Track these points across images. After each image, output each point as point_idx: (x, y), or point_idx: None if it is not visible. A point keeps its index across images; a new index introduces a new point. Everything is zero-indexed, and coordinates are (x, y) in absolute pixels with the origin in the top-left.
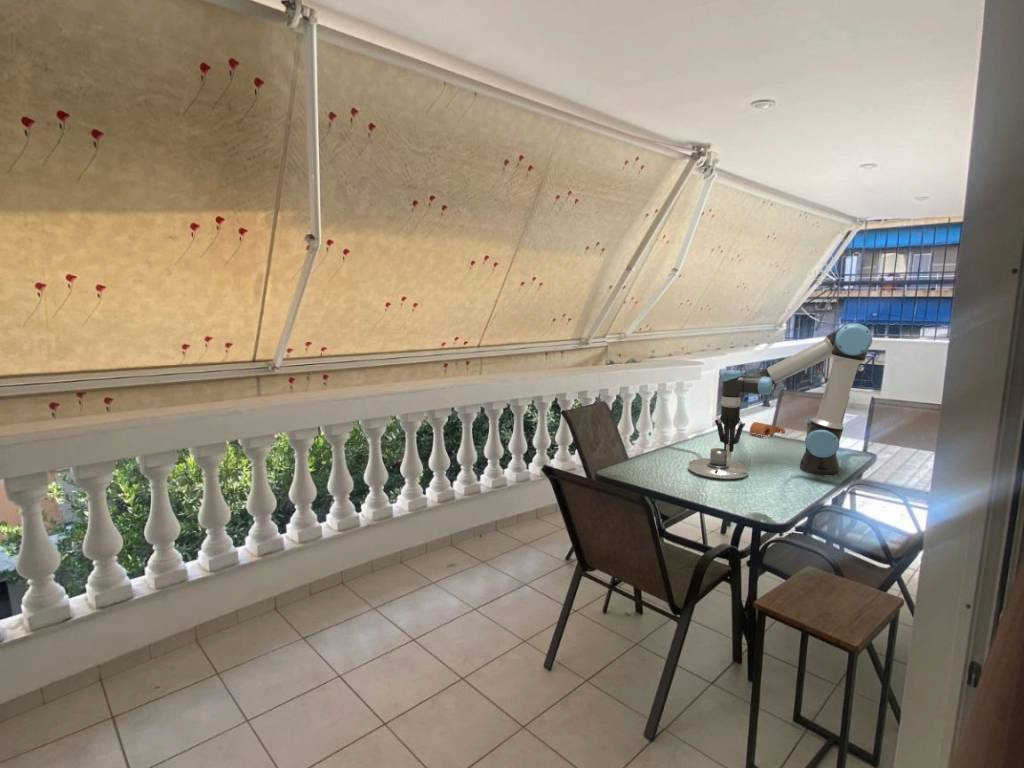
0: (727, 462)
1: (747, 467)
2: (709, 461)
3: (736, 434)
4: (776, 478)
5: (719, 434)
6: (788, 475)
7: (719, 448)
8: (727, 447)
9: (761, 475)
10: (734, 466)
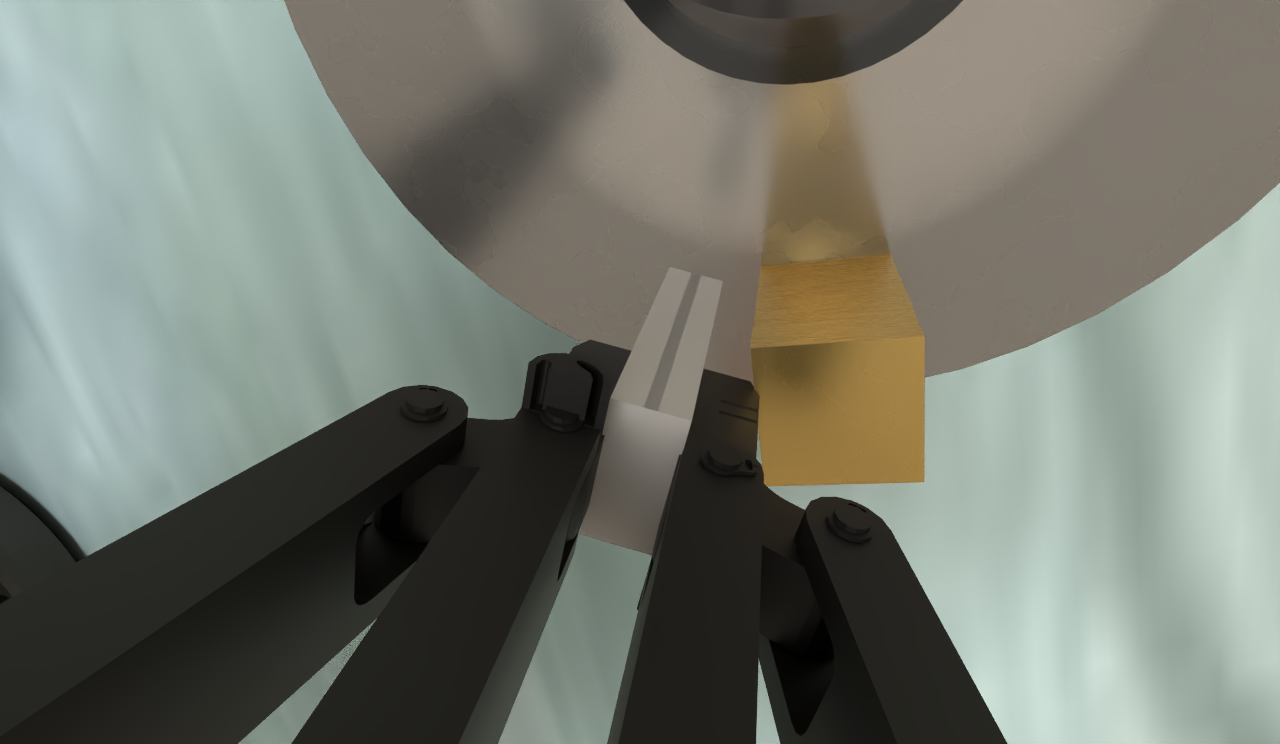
0: (687, 239)
1: (337, 110)
2: (1018, 126)
3: (173, 588)
4: (70, 125)
5: (962, 712)
6: (53, 325)
7: (828, 8)
8: (662, 373)
9: (242, 157)
10: (522, 43)
